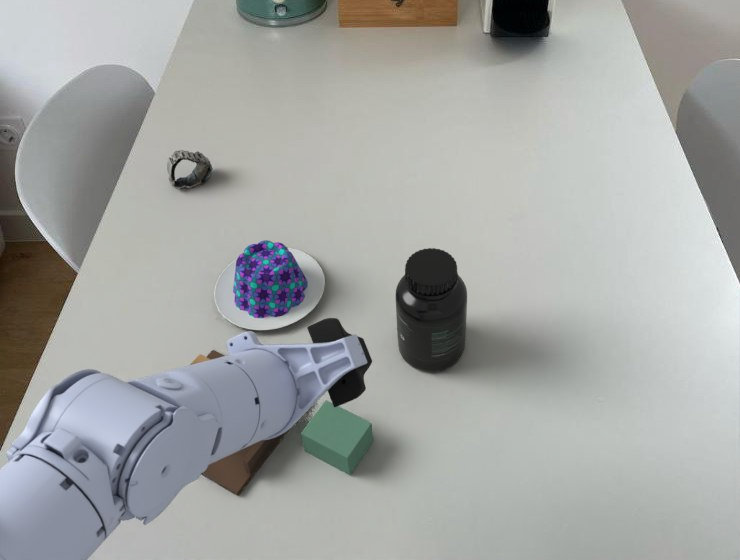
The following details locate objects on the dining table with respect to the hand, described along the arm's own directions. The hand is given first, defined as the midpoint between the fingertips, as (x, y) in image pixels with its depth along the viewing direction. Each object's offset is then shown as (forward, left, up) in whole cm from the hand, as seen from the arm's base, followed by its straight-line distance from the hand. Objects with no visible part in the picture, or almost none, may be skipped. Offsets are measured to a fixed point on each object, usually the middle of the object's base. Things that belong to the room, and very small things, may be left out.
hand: (321, 370), depth 61 cm
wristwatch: (+25, +39, -16) cm, 49 cm away
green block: (+3, +2, -16) cm, 16 cm away
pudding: (+15, +19, -16) cm, 29 cm away
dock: (0, +13, -16) cm, 20 cm away
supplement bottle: (+17, 0, -16) cm, 23 cm away
